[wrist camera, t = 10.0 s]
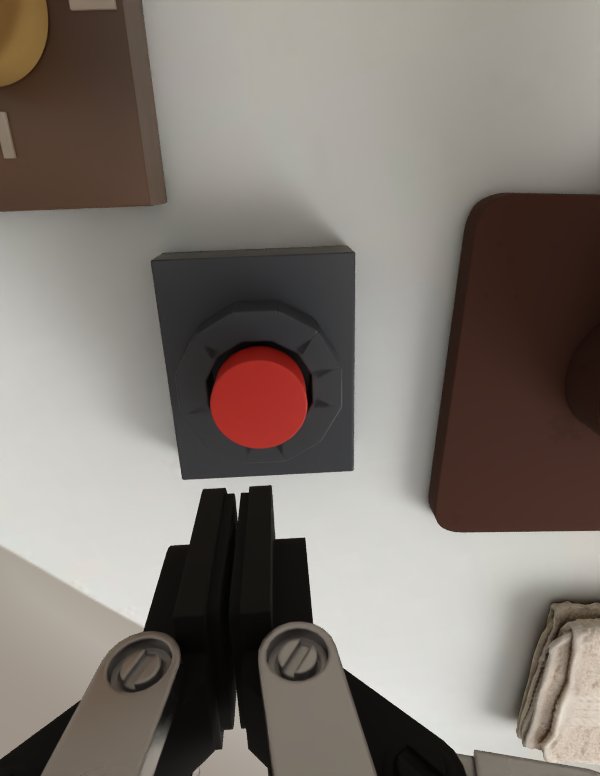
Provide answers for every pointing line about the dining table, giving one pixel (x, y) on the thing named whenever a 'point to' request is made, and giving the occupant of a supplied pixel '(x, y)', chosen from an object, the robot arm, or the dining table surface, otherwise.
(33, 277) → the dining table surface
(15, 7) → the dimmer knob
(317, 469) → the switch block
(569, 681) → the washcloth
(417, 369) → the dining table surface
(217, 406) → the power button
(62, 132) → the dimmer panel
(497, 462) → the lever handle
